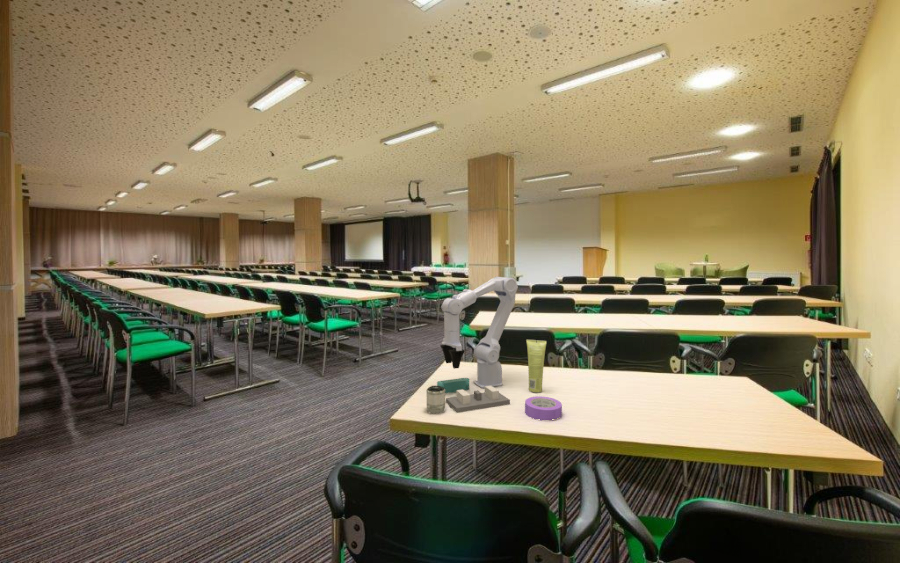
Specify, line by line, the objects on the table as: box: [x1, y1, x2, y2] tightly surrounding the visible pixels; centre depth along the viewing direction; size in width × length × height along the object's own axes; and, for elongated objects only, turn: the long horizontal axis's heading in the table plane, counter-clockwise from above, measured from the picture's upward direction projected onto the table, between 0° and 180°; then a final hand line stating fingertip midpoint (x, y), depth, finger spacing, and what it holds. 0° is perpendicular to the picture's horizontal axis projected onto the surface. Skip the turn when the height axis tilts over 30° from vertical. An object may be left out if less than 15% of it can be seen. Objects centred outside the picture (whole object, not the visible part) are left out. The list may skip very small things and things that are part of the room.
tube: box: [525, 339, 547, 393], centre depth 148 cm, size 6×5×20 cm
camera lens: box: [426, 385, 446, 415], centre depth 130 cm, size 6×6×8 cm
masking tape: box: [524, 395, 563, 421], centre depth 128 cm, size 12×12×4 cm
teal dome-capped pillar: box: [436, 377, 470, 394], centre depth 149 cm, size 13×3×4 cm, turn 112°
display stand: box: [445, 386, 511, 414], centre depth 136 cm, size 20×10×4 cm, turn 112°
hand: (452, 365), depth 149 cm, fingers open, 7 cm apart
